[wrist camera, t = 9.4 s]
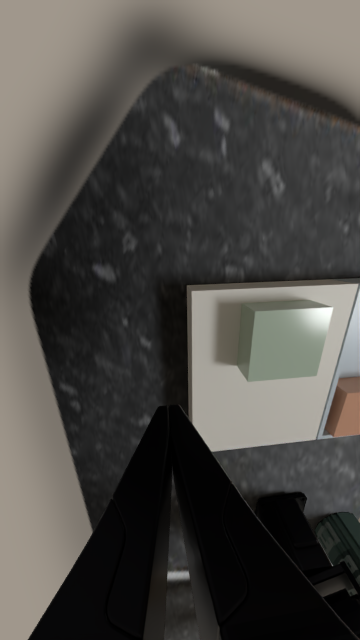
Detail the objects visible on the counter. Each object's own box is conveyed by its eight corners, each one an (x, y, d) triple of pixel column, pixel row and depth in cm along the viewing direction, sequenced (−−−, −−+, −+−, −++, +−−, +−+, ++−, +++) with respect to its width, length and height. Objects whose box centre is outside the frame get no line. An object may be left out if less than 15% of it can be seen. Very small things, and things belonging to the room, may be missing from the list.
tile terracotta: (361, 415, 20) (381, 432, 18) (317, 419, 20) (333, 437, 18) (376, 375, 19) (400, 388, 17) (328, 379, 18) (347, 393, 16)
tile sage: (297, 361, 15) (316, 375, 14) (236, 365, 15) (247, 381, 13) (309, 299, 14) (333, 307, 12) (241, 303, 13) (255, 311, 11)
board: (298, 418, 21) (315, 439, 19) (188, 430, 20) (192, 453, 18) (329, 279, 16) (358, 283, 14) (186, 285, 15) (191, 291, 13)
